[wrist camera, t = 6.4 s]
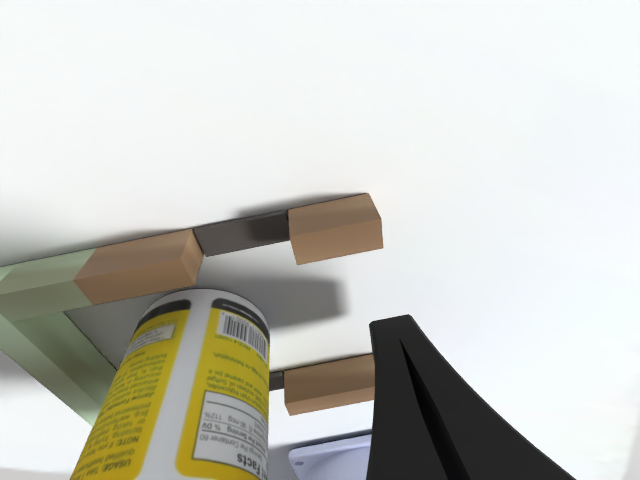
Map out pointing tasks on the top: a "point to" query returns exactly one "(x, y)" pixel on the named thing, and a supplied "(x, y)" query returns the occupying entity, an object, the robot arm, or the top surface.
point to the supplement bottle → (187, 395)
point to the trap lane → (168, 274)
